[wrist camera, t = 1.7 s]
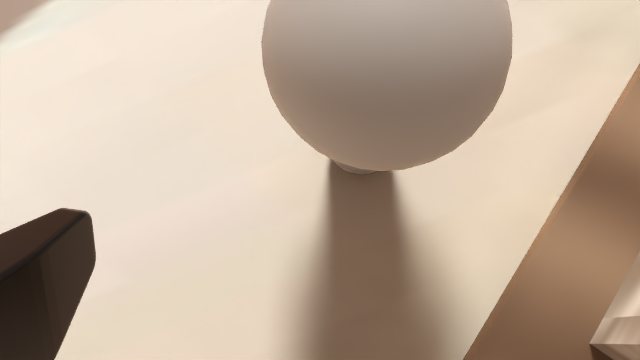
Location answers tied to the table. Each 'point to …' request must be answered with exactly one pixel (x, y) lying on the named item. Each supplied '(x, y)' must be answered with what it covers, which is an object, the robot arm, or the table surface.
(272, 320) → the table surface
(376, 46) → the lightbulb
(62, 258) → the robot arm
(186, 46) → the table surface
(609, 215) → the socket board
